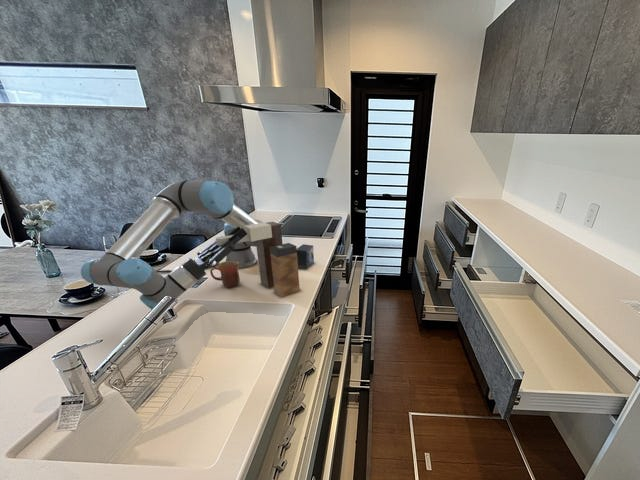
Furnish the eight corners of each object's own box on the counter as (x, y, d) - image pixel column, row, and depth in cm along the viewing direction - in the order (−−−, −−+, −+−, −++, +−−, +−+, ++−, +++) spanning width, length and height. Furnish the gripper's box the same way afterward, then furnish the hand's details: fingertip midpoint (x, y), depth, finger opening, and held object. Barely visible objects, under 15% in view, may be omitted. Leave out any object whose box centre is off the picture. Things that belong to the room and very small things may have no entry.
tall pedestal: (268, 288, 137) (261, 227, 126) (261, 283, 141) (253, 224, 130) (286, 283, 143) (280, 224, 131) (278, 278, 147) (272, 221, 136)
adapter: (277, 257, 122) (276, 249, 121) (270, 253, 126) (269, 246, 125) (296, 252, 128) (296, 245, 127) (289, 249, 132) (288, 242, 131)
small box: (307, 269, 158) (306, 250, 154) (295, 268, 159) (294, 249, 155) (314, 263, 168) (313, 244, 164) (303, 261, 169) (302, 243, 165)
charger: (220, 247, 106) (218, 233, 104) (215, 243, 109) (213, 230, 107) (272, 237, 118) (270, 224, 116) (266, 234, 122) (264, 222, 120)
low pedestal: (281, 297, 129) (277, 257, 122) (274, 292, 133) (270, 253, 126) (299, 290, 135) (296, 252, 128) (292, 286, 139) (289, 249, 132)
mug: (240, 280, 144) (237, 259, 140) (243, 287, 137) (239, 266, 133) (213, 284, 139) (208, 263, 135) (213, 291, 132) (209, 270, 128)
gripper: (189, 274, 111) (240, 233, 119) (204, 287, 100) (258, 242, 109) (173, 259, 106) (227, 218, 114) (188, 272, 95) (246, 226, 104)
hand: (242, 230), depth 112 cm, fingers closed on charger, 3 cm apart
